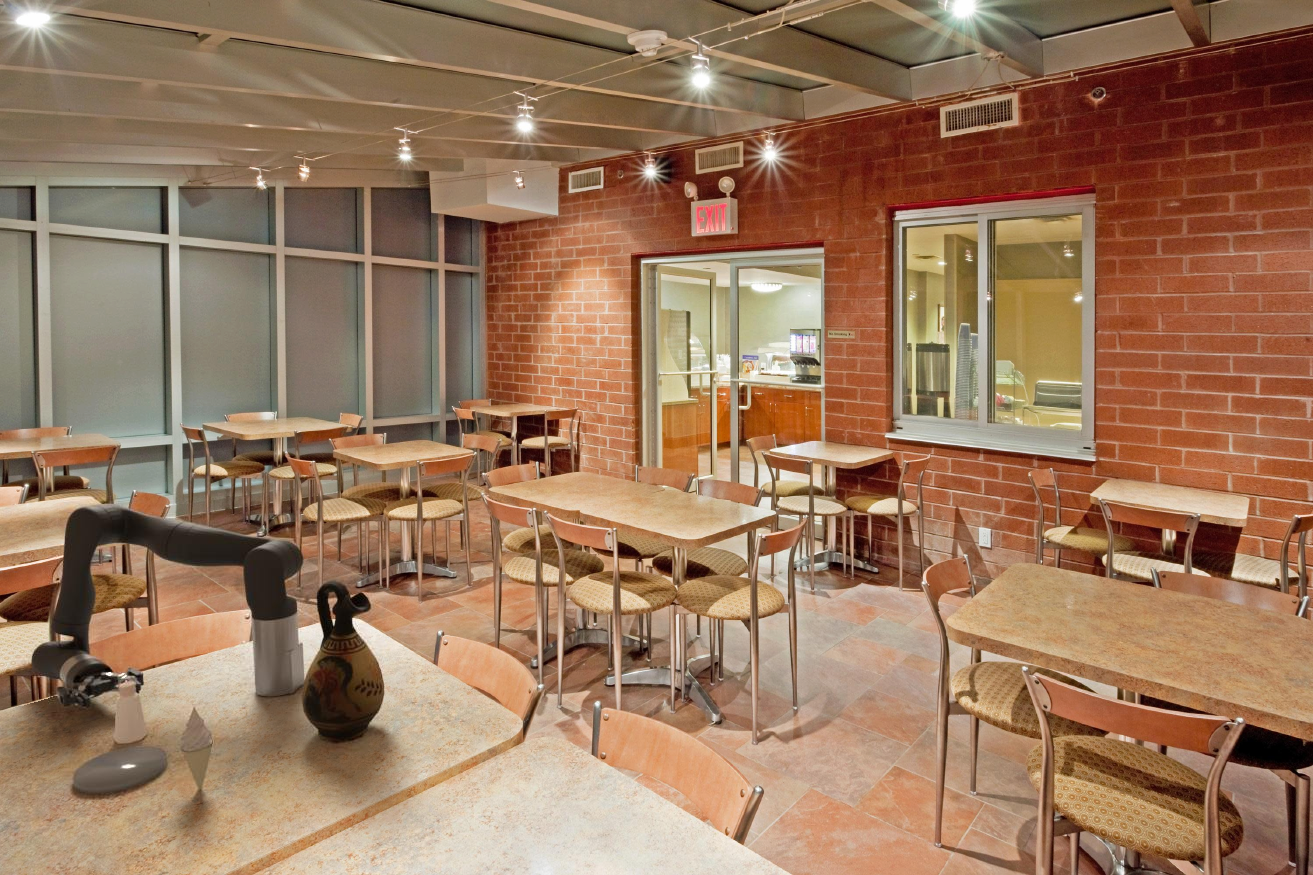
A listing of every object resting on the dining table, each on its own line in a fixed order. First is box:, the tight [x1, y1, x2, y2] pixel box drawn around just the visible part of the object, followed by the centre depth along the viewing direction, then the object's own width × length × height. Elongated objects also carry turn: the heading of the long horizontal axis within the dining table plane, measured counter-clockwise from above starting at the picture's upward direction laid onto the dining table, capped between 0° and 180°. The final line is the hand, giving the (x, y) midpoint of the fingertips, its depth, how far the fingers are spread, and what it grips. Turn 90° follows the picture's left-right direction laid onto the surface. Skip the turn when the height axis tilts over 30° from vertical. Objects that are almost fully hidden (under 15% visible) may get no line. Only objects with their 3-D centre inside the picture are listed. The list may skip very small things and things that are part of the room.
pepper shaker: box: [113, 681, 148, 745], centre depth 157 cm, size 5×5×11 cm
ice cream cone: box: [178, 706, 215, 791], centre depth 138 cm, size 5×5×15 cm
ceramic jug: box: [301, 580, 385, 744], centre depth 159 cm, size 17×15×30 cm
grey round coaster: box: [72, 745, 168, 795], centre depth 144 cm, size 14×14×2 cm
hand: (113, 696), depth 162 cm, fingers open, 8 cm apart
